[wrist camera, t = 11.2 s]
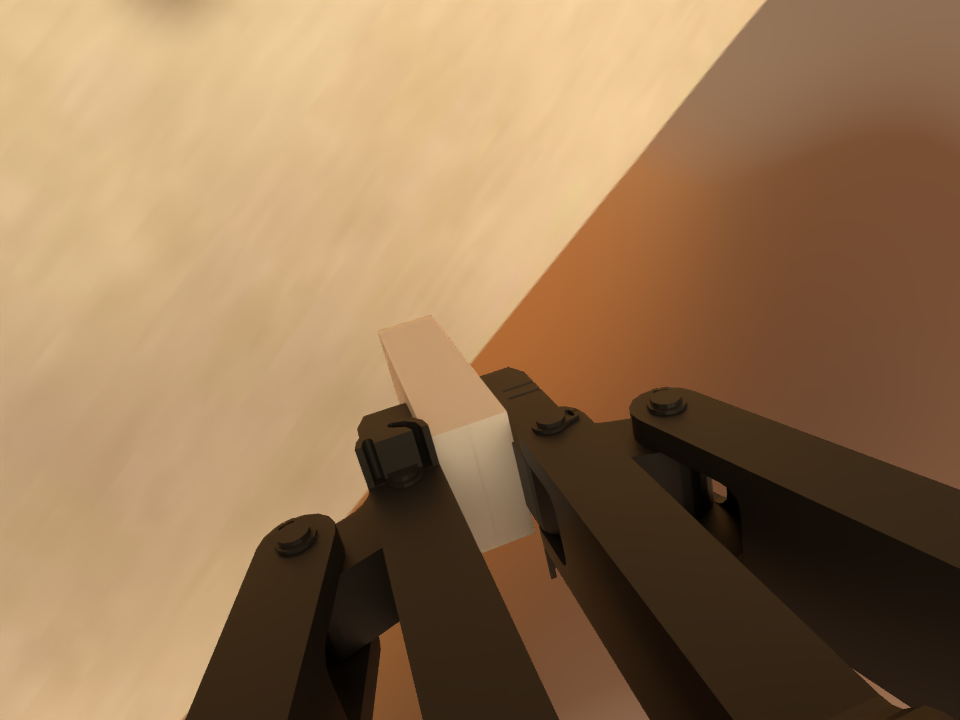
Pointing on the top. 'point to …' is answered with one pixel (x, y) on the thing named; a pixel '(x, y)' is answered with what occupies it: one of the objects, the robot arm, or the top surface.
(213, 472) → the top surface
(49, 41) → the top surface
